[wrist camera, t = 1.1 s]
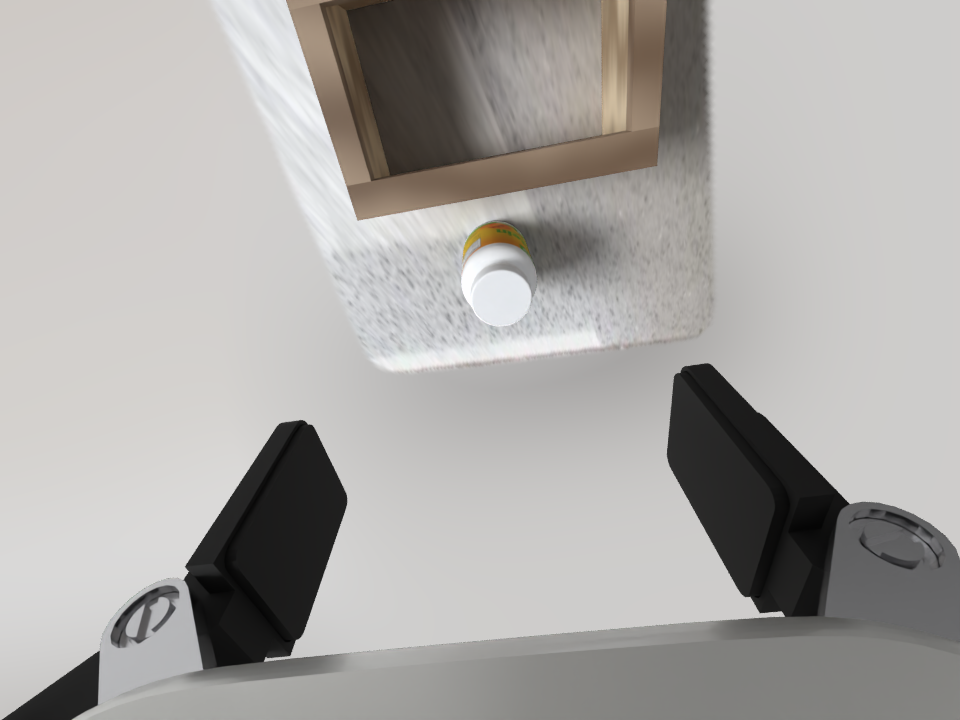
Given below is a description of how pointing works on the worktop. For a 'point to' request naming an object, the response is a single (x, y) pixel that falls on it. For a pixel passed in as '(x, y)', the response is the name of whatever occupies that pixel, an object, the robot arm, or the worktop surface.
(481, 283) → the supplement bottle
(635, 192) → the worktop surface
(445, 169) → the wooden box
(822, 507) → the robot arm
